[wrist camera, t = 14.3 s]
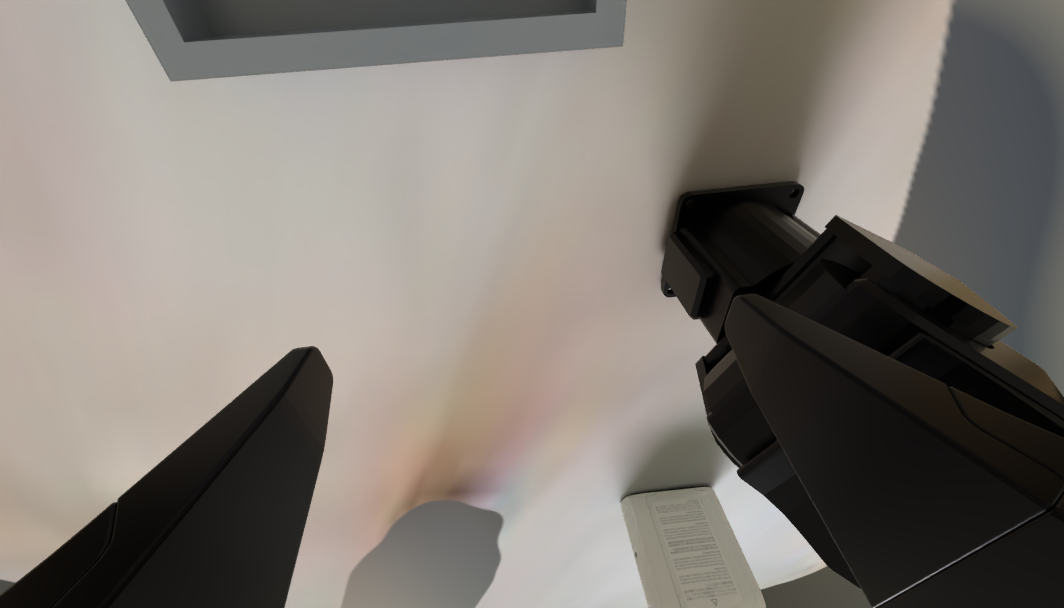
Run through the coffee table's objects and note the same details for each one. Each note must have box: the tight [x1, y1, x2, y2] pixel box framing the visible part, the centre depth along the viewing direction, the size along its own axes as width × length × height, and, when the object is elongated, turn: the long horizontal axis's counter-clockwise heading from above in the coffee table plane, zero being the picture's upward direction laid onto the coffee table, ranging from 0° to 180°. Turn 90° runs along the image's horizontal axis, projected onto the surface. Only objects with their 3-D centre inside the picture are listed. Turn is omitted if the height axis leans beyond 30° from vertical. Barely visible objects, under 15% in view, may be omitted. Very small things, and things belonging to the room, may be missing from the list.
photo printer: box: [621, 487, 766, 608], centre depth 38 cm, size 10×4×12 cm, turn 89°
